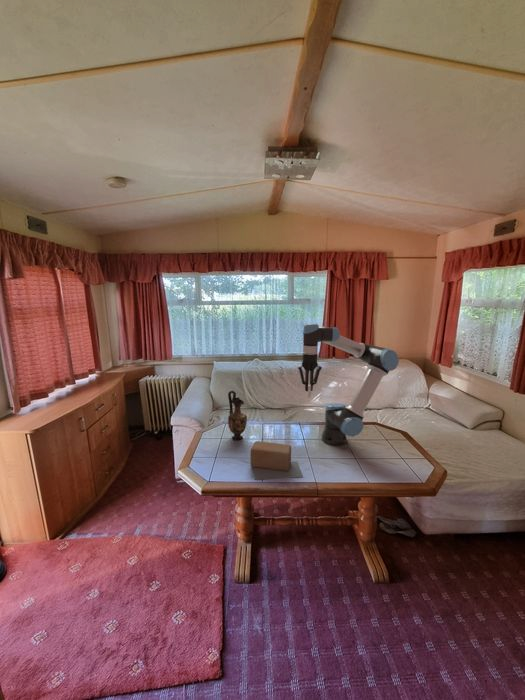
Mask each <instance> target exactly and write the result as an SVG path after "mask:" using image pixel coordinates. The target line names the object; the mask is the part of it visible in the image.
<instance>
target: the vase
mask: <svg viewBox="0 0 525 700" xmlns="http://www.w3.org/2000/svg"><path fill="white" fill-rule="evenodd" d="M231 394H232V395H231ZM227 395H228V396H227V397H228V404H229V405H228V406H229V411H228V412H229V414H228V418H227V424H228V429H229V431H230V432H231V433H232V434H233V436H231V440H232V439H233V440H232V441H234V440H235V441H234V442H239V440H240V441H242V440H243V439H244V437H243V436H242V433H244V432H245V430H246V428H247V422H248V416H247V415H246V414H245V413H244V412H241V406H242V405H244V404H245V401H244V400H242V399H240V397H237V393H236V391H235V390H231V391H229V392H228V394H227ZM233 405H234V408H233ZM233 410H234V411H233Z"/></svg>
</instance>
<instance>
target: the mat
mask: <svg viewBox="0 0 525 700" xmlns="http://www.w3.org/2000/svg"><path fill="white" fill-rule="evenodd" d="M252 472H253V473H252V474H253V479H254V481H258V480H276V479H279V480H280V479H295V478H297V479H298V478H304V475H303V472H302V470H301V467H300V465H299V462H298V461H296V460H295V461H291V463H290V467H289V470H288V471H282V470H274V469H266V468H259V467H252Z"/></svg>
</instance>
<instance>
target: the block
mask: <svg viewBox="0 0 525 700" xmlns="http://www.w3.org/2000/svg"><path fill="white" fill-rule="evenodd" d="M291 462H292V445H291V444H286V443H285V444H284V443H275V442H267V441H259V440H257V441H256V440H255V441H254V442H253V444H252V446H251V448H250V467H252V468H253V467H259V468H266V469H274V470H282V471H288V470H289V467H290V463H291Z"/></svg>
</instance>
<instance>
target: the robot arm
mask: <svg viewBox="0 0 525 700" xmlns="http://www.w3.org/2000/svg"><path fill="white" fill-rule="evenodd" d="M302 330H303V332H302V333H303V334H302V336H303V339H302V352H303V354H302V362H301V364H300V365H297V369H298V372H299V376H300V381H301V383H302V384H303V385H304V391H305V392H306V397H307V398H309V399H310V398H311V397H312V396H311V395H312V394H311V393H312V392H313V390H314V389H313V387H314V385H317V383H318V379H319V376H320V372H321V371H322V369H323V368H322V366H321V365H319V363H318V354H317V353H318V344H319V343H321V342H322V343H324V344H326V345H328V346H329V345H330V346H331V347H334V348H336V349H339V350H341V351H344V352H346V353H348V354H351V355H353V357H355V358H356V359H359V360H360V361H363V362H365V363H366V364H367V368H368V370H367V372H366V373H365V376H364V377H363V379H362V381H361V383H360V385H359V386H358V387H357V390H356V392H355V394H354V396H352V399H351V401H350V403H349V404H348V405H346V404H343V403H341V402H339V403H338V402H331V403H327V404H326V405H325V410H324V411H325V417H324V428H323V430H322V433H321V441H322V442H323V443H326V444H328V445H330V446H342V445H345V444H346V443H347V437H355V436H357V435H358V436H359V435H360V433H362V431H363V429H364V422H363V420H364V418H365V417H364V411H365V410H366V408H367V407H368V405H369V403H370V401H371V399H372V398H373V396H374V394H375V392H376V390H377V389H378V386H379V385H380V383H381V381H382V380H383V378H384V377H385V376H387V375H388V374H389V373H390V372H391V371H394V370H396V368H397V367H398V366H399V362H400V359H399V358H400V357H399V354H398V353H397V352H396V351H395V350H394V349H390V348H388V347H387V348H386V347H382V346H377V345H370V344H366V343H364V342H357V341H355V340H352V339H350V338H347V337H345V336H343V335H341V333H340V330H339V328H338V327H335V326H334V327H333V326H331V327H329V326H323V325H321V326H320V325H319V324H317V323H305V324H304V325H303V329H302ZM303 369H304V371H305V373H303V372H304V371H303ZM315 369H316V370H315ZM304 374H305V375H304ZM304 376H305V377H304Z"/></svg>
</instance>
